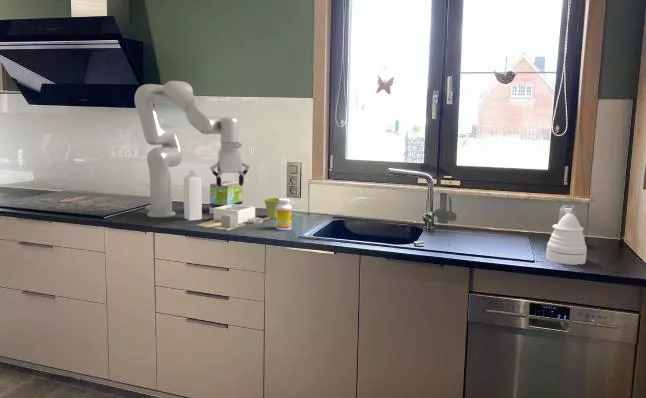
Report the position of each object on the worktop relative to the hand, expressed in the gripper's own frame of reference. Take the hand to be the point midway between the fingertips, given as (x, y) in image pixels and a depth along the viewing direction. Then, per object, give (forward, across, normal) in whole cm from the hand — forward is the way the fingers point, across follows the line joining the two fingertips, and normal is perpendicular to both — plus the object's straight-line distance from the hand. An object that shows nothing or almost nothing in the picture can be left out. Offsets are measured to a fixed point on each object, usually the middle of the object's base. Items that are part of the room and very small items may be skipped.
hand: (230, 185), depth 237 cm
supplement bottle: (+17, -17, +19) cm, 31 cm away
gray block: (+16, +3, +8) cm, 19 cm away
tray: (+17, +6, +5) cm, 18 cm away
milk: (+17, +13, -14) cm, 26 cm away
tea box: (+17, -6, -26) cm, 31 cm away
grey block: (+16, -3, -8) cm, 19 cm away
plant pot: (+17, -23, -6) cm, 29 cm away
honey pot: (+19, -92, +100) cm, 137 cm away
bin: (+17, -4, -6) cm, 18 cm away
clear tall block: (+19, -113, +82) cm, 141 cm away
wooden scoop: (+17, -12, +2) cm, 21 cm away
